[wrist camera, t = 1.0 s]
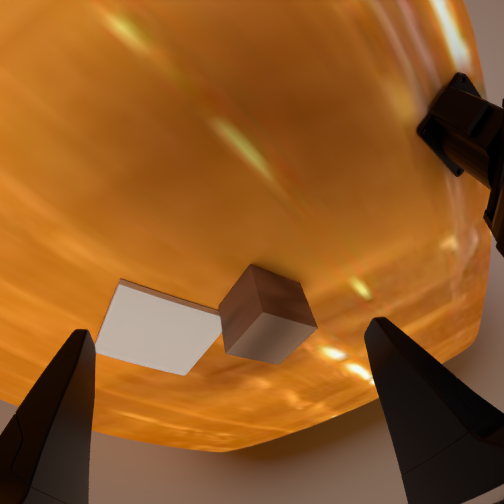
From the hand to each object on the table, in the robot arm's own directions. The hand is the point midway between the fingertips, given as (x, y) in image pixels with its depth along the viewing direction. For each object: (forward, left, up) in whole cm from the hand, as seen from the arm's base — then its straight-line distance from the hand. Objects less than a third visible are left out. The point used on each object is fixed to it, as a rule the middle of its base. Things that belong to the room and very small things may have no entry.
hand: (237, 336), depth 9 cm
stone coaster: (-3, +16, -13) cm, 21 cm away
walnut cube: (-9, +8, -13) cm, 18 cm away
